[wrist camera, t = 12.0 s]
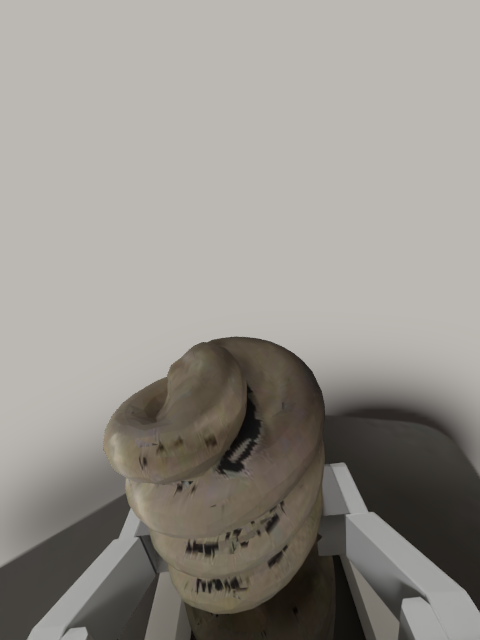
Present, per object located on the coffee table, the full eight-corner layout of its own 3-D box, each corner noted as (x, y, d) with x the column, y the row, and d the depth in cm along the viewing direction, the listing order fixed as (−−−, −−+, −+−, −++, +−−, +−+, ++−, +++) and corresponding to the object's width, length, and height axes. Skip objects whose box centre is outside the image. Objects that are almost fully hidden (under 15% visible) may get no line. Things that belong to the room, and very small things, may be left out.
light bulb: (255, 874, 7) (67, 500, 3) (192, 632, 12) (86, 352, 7) (372, 687, 9) (376, 337, 5) (282, 550, 14) (244, 305, 10)
